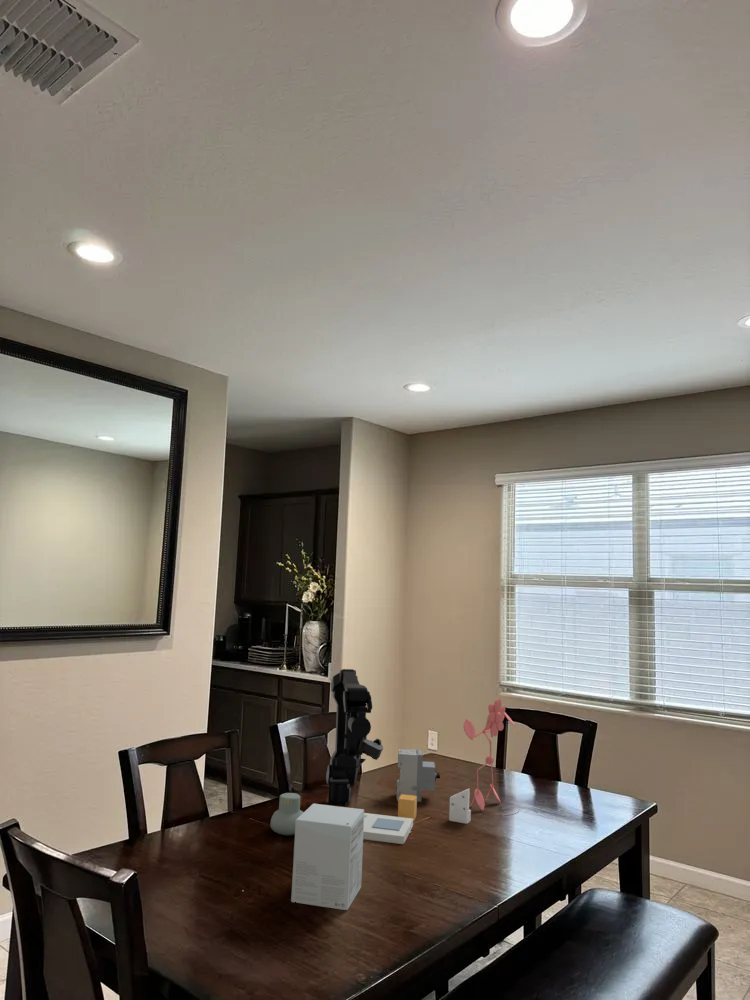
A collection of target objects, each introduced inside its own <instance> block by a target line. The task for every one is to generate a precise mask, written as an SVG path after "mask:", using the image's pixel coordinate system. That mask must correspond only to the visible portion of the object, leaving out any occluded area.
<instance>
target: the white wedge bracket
mask: <svg viewBox="0 0 750 1000" xmlns="http://www.w3.org/2000/svg"><path fill="white" fill-rule="evenodd" d="M470 791H471V789H470V788H466V789H465V790H463V791H460V792H457V793H455V794H454V795H451V796H450V797H449V808H448V809H449V810H448V811H449V815H448V817H449V818H448V820H449V821H450V822H456V823H461V824H467V825H468V823H470V822H471V820H472V819H471V818H472V809H470V795H471V794H470ZM449 821H448V822H449Z"/></svg>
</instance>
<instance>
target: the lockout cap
mask: <svg viewBox="0 0 750 1000" xmlns="http://www.w3.org/2000/svg"><path fill="white" fill-rule="evenodd" d="M397 802H398V803H397V817H404V818H412V819H413V822H415V819H416V818H417V811H418V810H417V809H418V808H417V806H418V805H417V804H418V802H417V796H413V795H404V794H401V796H400V797H399V799H398V801H397Z"/></svg>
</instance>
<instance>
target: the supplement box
mask: <svg viewBox="0 0 750 1000" xmlns="http://www.w3.org/2000/svg"><path fill="white" fill-rule="evenodd" d="M303 812H304V813H303V814H302V815H300V816H299V817H298V818H297V819H296V821H295V835H294V841H293V842H294V846H293V861H292V862H293V863H292V865H293V867H292V877H291V878H292V879H291V880H292V881H291V882H292V883H291V897H290V901H291V902H290V903H295V902H296V904H297V903H298V904H304V905H310V906H316V907H323V908H327V909H330V908H331V909H336V910H341V911H348V909H349V908H350V907H351V904H353V902H354V900H355V898H356V896H357V895H358V894H359V892H360V890H361V888H362V878H363V877H362V874H363V873H362V872H363V871H362V870H363V848H364V839H363V829H364V813H365V809H363V808H355V807H348V806H347V807H346V806H339V805H330V804H319V803H312V804H311V805H310V806H309V807H308V808H307V809H306V810H305V811H303Z"/></svg>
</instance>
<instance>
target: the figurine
mask: <svg viewBox="0 0 750 1000" xmlns="http://www.w3.org/2000/svg"><path fill="white" fill-rule="evenodd" d="M488 712H489V714H488V715H487V717H486V719H487V720H486V723H485V727H484V729H483V730H481V731H480V732H479V733H477V734H476V729H475V726H474V724H473V722H471V721H470V720H468V718H467V719H465V721H464V722H463V731H464V732H465V735H466V736H467V737H468V738H469V739H470V740H471V741H473V740H474V739H475V738H476V737H478V736H479V735H481V734H484V735H485V737H486V739H487V741H488V742H489V755H488V756H486V757H485V759H484V760H485V764H483V765H482V766H480V767H479V768H477V769H476V779H477V780H476V781H477V782H476V784H477V785H476V786H477V788H475V790H474V792H473V795H474V797H473V799H472V801H470V803H469V808H471V807H472V806H473V804H474V801H475V802H476V804H477V806H478V807H479V809H480V811H482V812H483V811H484V810H485V802H486V801H487V800H488V798H489V796H490V794H491V791H492V792H493V794H494V796H495V798H496V800H497V801H498V802H499V803H500V804H501V803H502V802H501V800H500V797H499V795H498V793H497V791H496V790H495V786H494V775H493V773H494V771H493V764H494V762H495V761H494V758H493V757H492V741H491V739H490V737H491V738H494V737H497V736H498V734H499V731H500V732H501V731H503V730H504V719H505V718H506V719H507V720H508V722H510V724H512V725H513V726H514V727H516V724H515V722H514V721H513V720H512V718H511V717H510V716H509V715H508V714H507V712H506V705H503V706H502V700H501V698H498V699H495V701H494V704H493V703H489V705H488ZM487 733H490V737H489V736H488V735H487ZM486 765H488V766H489V765H491V767H490V768H491V769H490V770H491V783H490V784H489V786H490V789H489V790H488V792H487V794H486V796H485V798H484V795H483V793H482V792H481V790H480V789H479V770H481V769H482V768H483V767H485V766H486ZM518 807H519V809H520V806H518ZM519 812H520V810H518V811H517V812H514V813H512V814H507V815H506V814H505V815H504V817H507V816H512V815H513V816H514V815H515V814H517V815H518V814H519Z"/></svg>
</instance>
